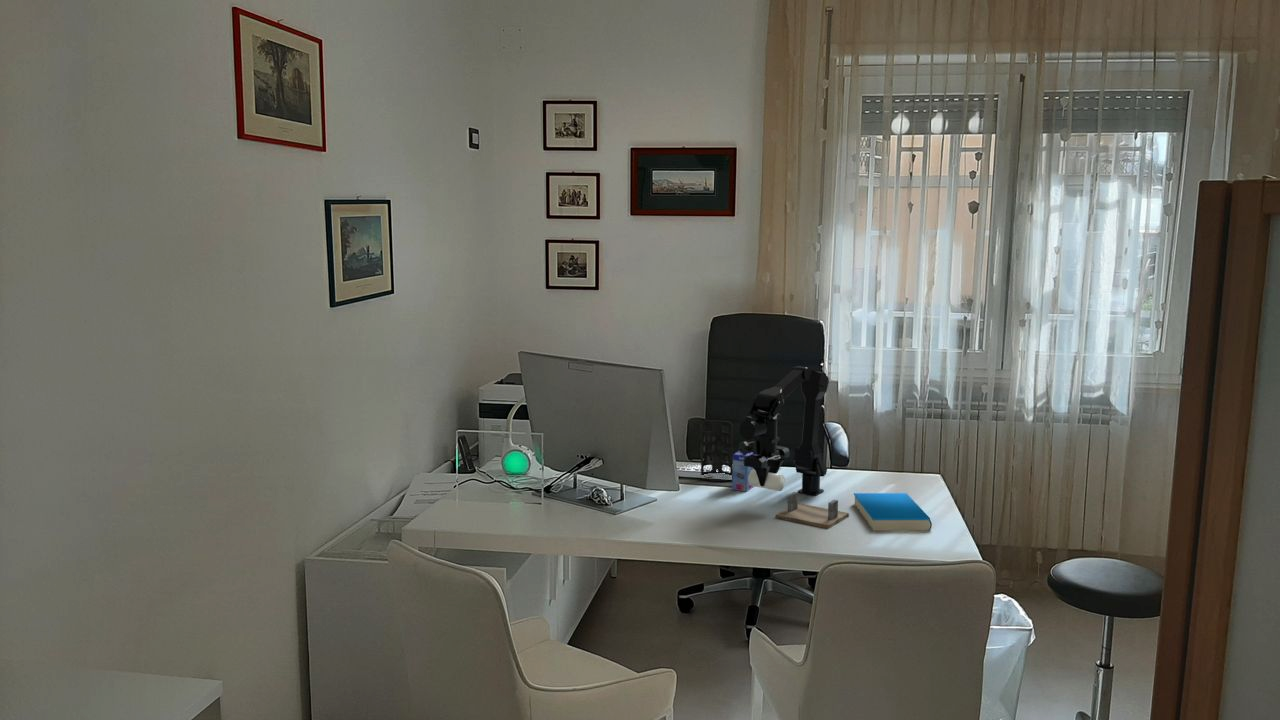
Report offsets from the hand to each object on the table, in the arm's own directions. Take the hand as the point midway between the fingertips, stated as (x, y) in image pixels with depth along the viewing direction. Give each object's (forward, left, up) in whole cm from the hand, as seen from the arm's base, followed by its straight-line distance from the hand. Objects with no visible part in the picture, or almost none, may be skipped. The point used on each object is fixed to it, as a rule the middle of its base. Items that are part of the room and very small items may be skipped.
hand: (766, 484), depth 288 cm
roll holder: (-1, +15, -8) cm, 17 cm away
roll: (0, 0, -1) cm, 1 cm away
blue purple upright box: (-16, -17, -8) cm, 25 cm away
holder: (-19, -30, -8) cm, 36 cm away
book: (-15, +34, -8) cm, 38 cm away
